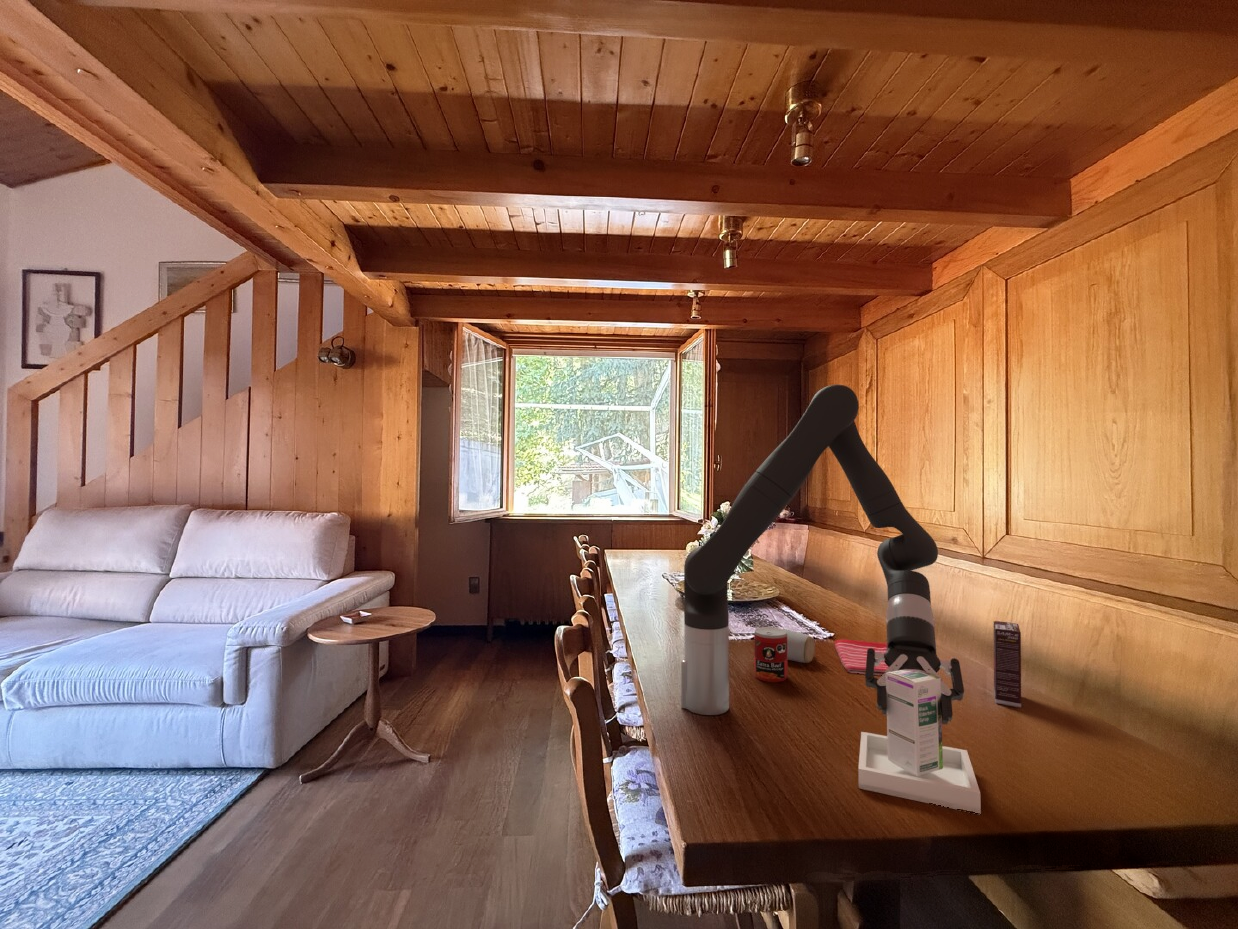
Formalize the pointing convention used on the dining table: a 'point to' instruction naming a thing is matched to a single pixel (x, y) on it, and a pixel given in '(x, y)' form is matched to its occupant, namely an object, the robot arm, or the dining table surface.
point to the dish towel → (859, 655)
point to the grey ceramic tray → (936, 787)
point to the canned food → (770, 654)
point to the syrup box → (914, 721)
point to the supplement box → (1007, 663)
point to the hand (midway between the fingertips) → (914, 717)
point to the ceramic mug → (799, 647)
